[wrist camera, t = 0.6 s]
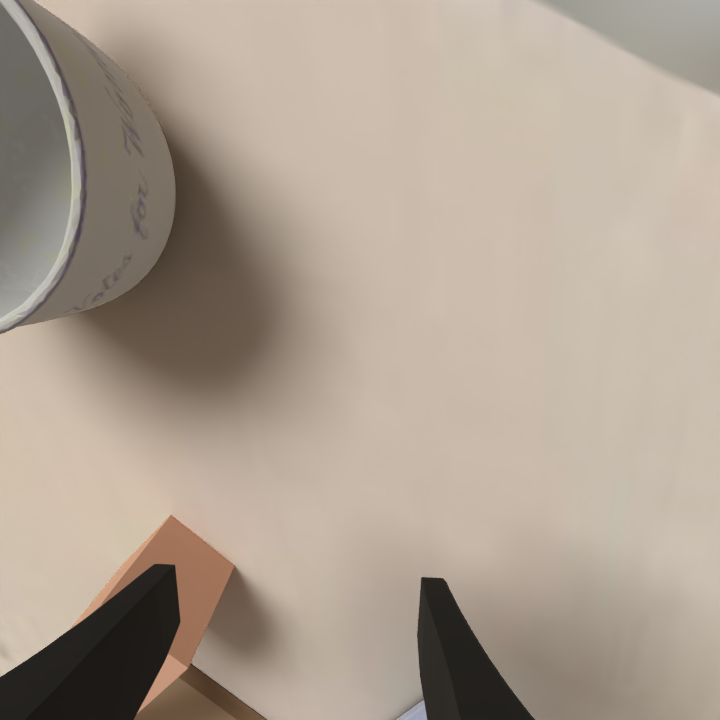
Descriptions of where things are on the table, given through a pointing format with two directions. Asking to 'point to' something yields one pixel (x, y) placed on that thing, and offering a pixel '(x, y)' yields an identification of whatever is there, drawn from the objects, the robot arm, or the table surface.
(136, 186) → the teacup
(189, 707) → the board
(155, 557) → the block
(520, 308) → the table surface
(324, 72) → the table surface
